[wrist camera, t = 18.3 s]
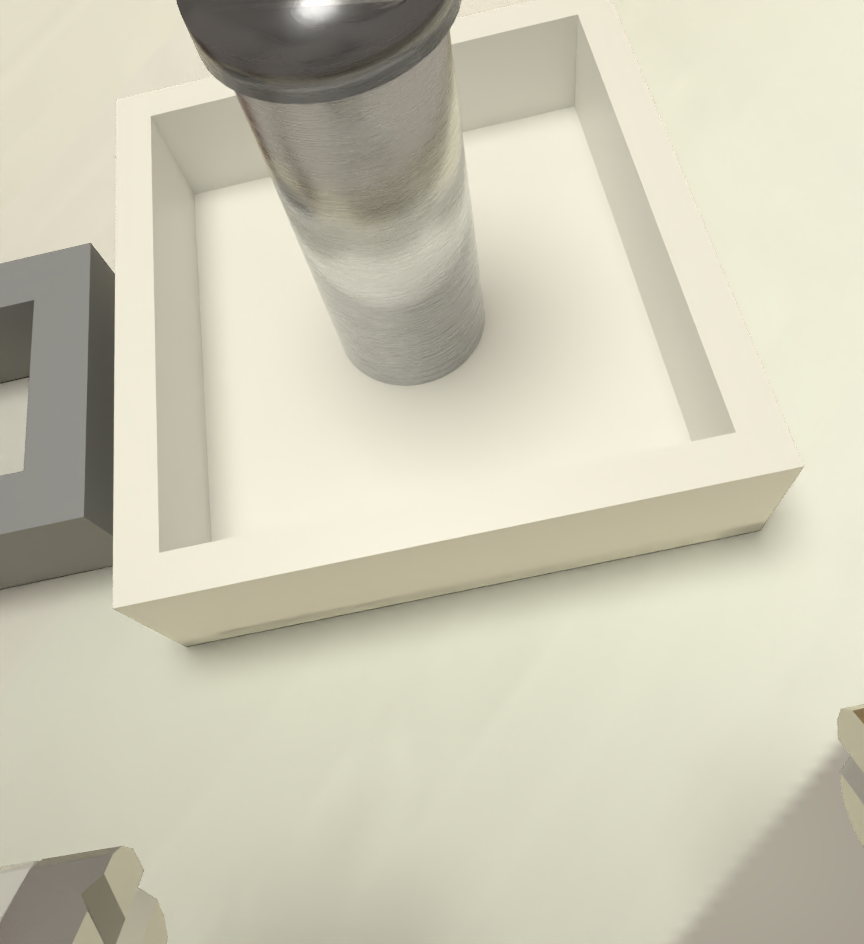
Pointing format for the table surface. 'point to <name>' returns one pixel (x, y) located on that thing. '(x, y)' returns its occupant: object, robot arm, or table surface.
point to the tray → (446, 399)
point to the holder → (59, 414)
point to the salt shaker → (362, 165)
